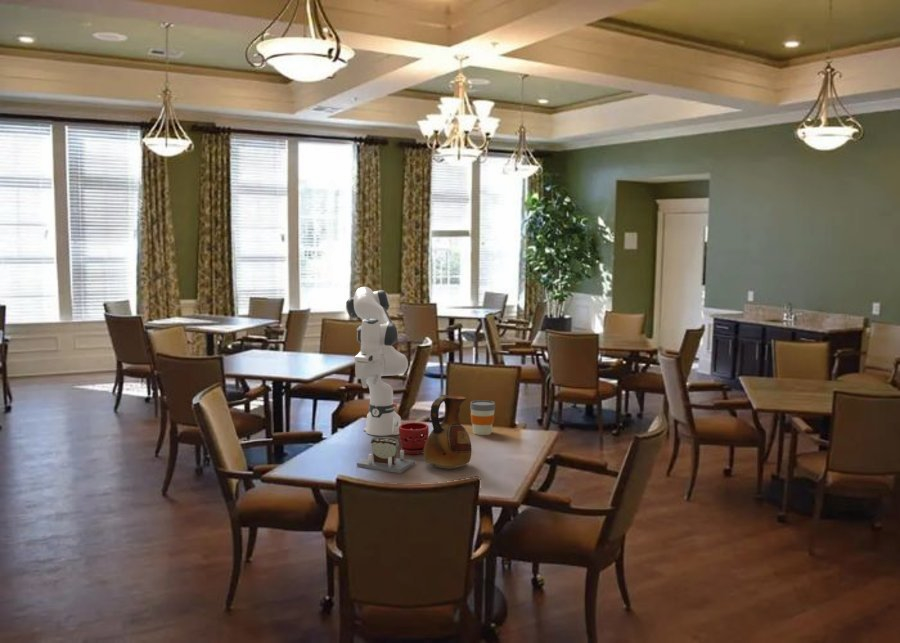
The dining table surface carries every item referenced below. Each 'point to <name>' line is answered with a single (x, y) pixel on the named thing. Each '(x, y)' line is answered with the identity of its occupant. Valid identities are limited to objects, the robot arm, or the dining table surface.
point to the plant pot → (413, 437)
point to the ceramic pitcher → (447, 436)
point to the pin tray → (398, 467)
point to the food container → (384, 449)
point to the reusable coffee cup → (482, 416)
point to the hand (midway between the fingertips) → (370, 386)
